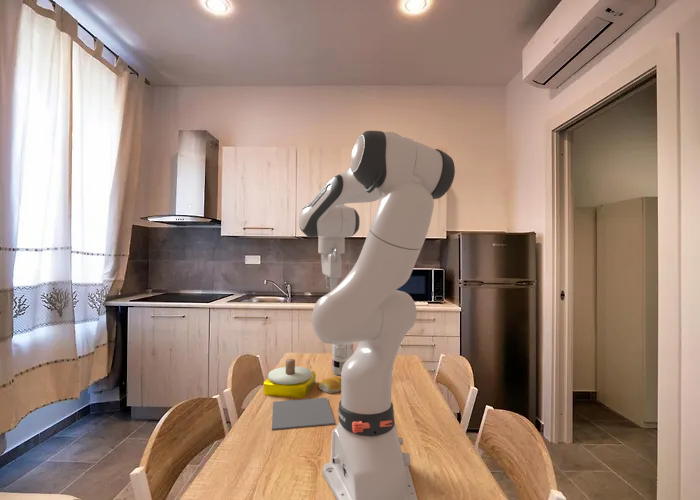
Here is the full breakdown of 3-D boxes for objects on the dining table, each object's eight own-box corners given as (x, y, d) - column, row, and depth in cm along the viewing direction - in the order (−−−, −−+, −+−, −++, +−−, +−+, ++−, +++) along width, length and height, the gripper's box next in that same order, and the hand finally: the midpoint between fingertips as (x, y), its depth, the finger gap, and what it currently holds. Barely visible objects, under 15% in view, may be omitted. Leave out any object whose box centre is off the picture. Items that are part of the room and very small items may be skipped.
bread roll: (349, 388, 121) (350, 376, 121) (331, 395, 115) (331, 383, 115) (333, 382, 127) (333, 371, 127) (315, 389, 120) (315, 377, 120)
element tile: (304, 399, 112) (304, 385, 112) (261, 396, 114) (261, 381, 114) (316, 383, 127) (317, 369, 127) (278, 380, 129) (278, 367, 129)
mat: (335, 424, 95) (335, 422, 95) (271, 430, 92) (271, 428, 92) (326, 398, 112) (326, 397, 112) (273, 402, 108) (273, 401, 108)
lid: (314, 382, 114) (314, 366, 114) (267, 385, 111) (267, 368, 111) (309, 367, 129) (310, 353, 129) (268, 370, 126) (268, 355, 126)
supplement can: (329, 370, 138) (329, 333, 139) (347, 368, 142) (348, 331, 142) (337, 377, 131) (337, 337, 131) (356, 374, 135) (356, 335, 135)
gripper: (346, 247, 105) (346, 293, 105) (336, 248, 125) (335, 286, 125) (326, 247, 104) (325, 293, 104) (318, 248, 124) (318, 287, 124)
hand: (331, 289), depth 115 cm, fingers open, 8 cm apart
